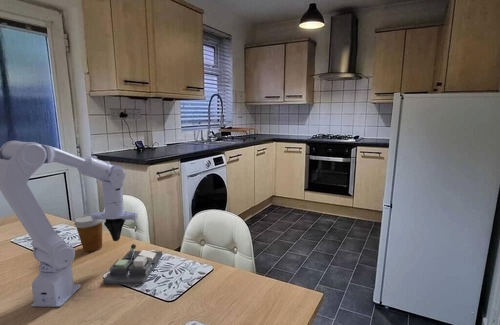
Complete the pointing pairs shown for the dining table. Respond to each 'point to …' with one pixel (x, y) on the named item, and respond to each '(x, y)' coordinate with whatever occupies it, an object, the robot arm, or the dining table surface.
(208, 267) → the dining table surface
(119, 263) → the button
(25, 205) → the robot arm
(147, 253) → the rocker
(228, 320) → the dining table surface
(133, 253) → the toggle lever
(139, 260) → the button
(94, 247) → the disposable coffee cup
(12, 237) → the dining table surface
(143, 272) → the panel
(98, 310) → the dining table surface
